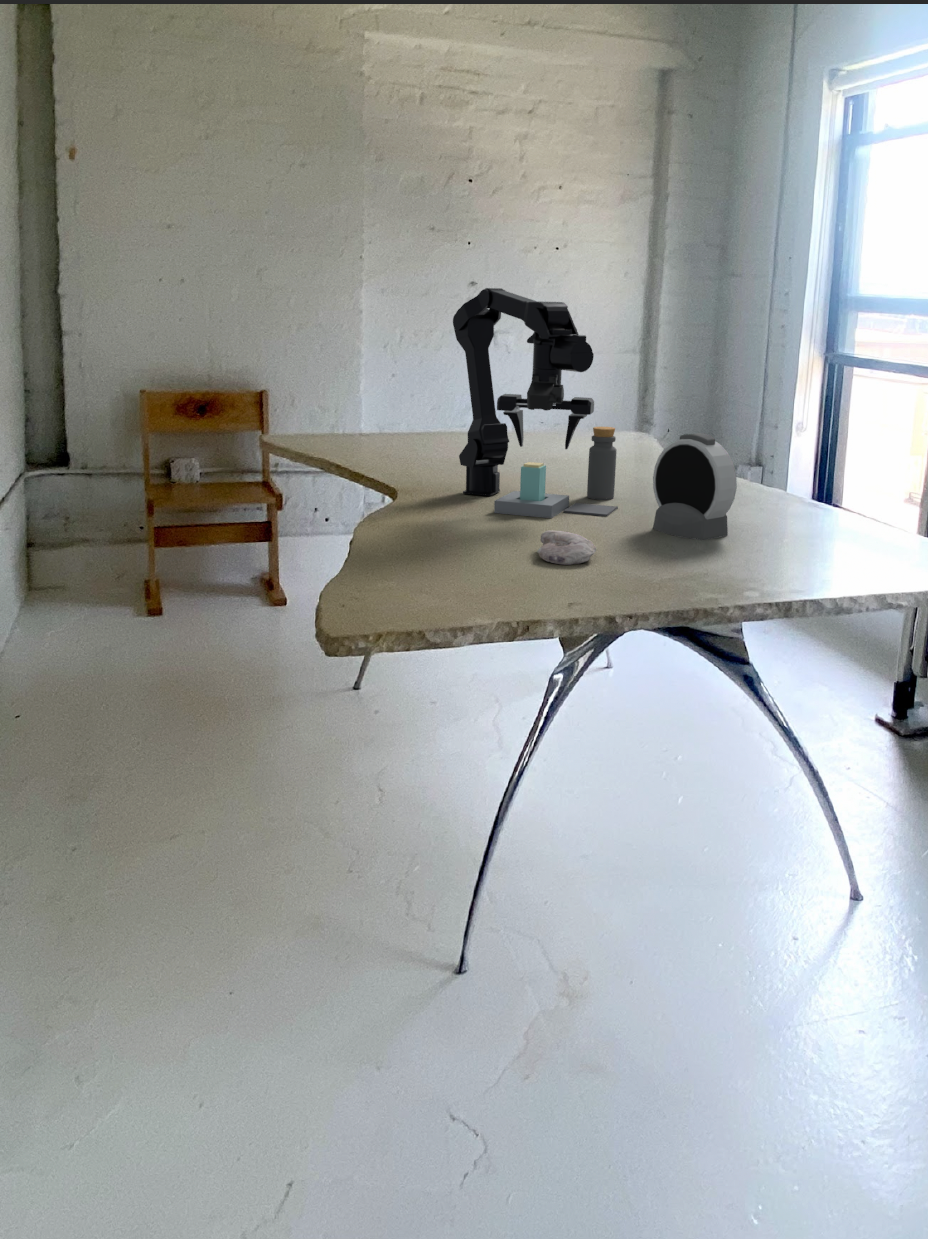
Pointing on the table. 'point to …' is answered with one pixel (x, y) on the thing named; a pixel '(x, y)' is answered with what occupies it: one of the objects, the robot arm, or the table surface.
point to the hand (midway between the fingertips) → (543, 447)
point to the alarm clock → (694, 488)
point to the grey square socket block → (531, 505)
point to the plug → (533, 481)
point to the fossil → (565, 548)
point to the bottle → (602, 464)
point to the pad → (591, 509)
